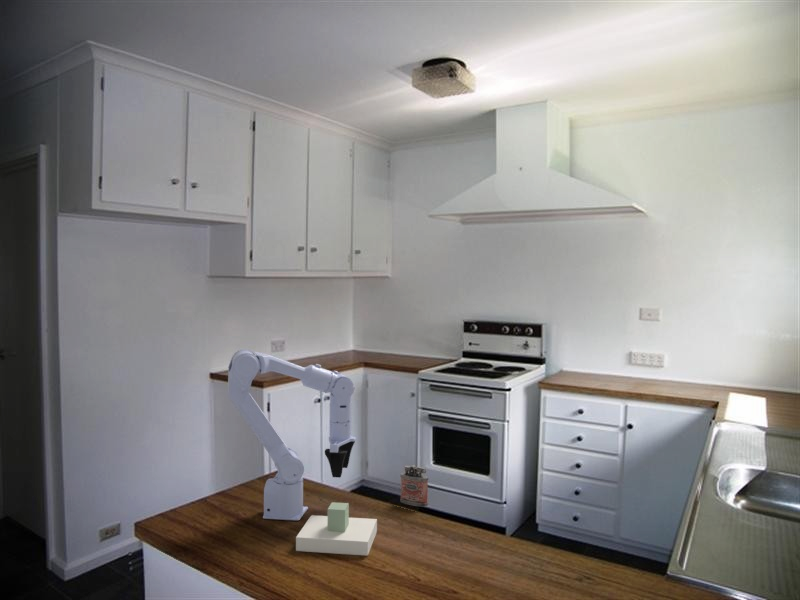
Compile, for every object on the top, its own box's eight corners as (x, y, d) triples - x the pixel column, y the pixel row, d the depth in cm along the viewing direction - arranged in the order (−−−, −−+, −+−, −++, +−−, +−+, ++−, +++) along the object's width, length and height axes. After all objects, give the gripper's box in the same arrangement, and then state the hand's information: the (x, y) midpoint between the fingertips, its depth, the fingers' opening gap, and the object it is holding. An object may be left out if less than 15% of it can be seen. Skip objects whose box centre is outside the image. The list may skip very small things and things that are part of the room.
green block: (327, 531, 125) (327, 509, 125) (331, 523, 129) (331, 502, 128) (344, 532, 124) (345, 510, 124) (348, 524, 128) (348, 503, 128)
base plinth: (295, 550, 121) (296, 537, 121) (311, 527, 133) (311, 515, 133) (367, 555, 119) (367, 541, 119) (376, 531, 131) (377, 519, 131)
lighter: (397, 502, 150) (398, 465, 150) (403, 498, 153) (403, 462, 153) (424, 507, 146) (425, 470, 146) (430, 503, 149) (430, 466, 149)
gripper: (349, 427, 138) (349, 482, 138) (360, 414, 152) (360, 464, 152) (321, 426, 139) (321, 480, 139) (335, 414, 153) (335, 462, 153)
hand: (340, 472), depth 146 cm, fingers open, 7 cm apart
